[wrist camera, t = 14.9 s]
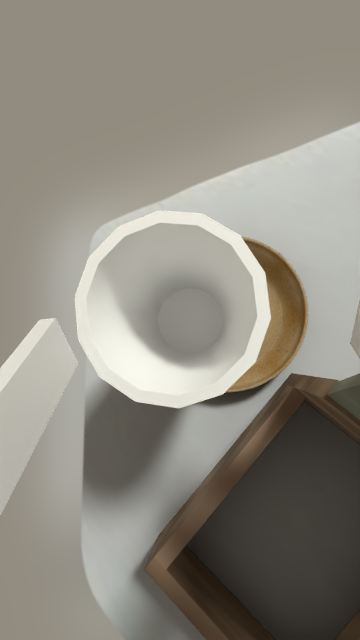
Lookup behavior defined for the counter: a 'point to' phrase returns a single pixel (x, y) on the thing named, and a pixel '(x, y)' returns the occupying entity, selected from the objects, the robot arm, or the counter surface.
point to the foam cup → (172, 308)
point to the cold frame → (170, 548)
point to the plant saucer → (277, 318)
